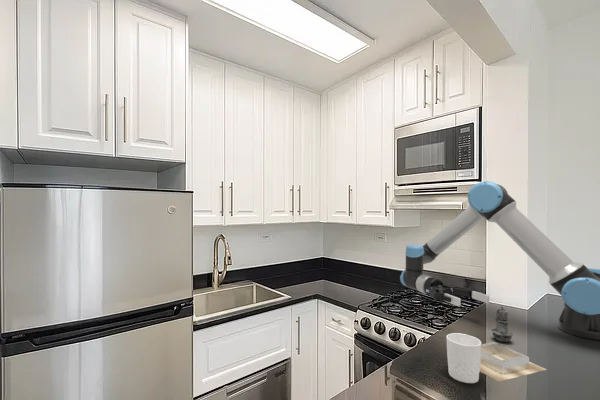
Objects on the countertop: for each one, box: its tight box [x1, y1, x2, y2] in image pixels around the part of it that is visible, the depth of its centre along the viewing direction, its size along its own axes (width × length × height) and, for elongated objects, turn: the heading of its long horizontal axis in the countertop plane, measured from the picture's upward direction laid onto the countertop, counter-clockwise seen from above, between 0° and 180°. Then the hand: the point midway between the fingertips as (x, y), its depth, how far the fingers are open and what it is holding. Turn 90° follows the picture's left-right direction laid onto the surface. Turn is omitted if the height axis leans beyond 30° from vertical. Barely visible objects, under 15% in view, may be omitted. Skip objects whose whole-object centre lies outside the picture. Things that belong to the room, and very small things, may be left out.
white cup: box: [446, 332, 482, 384], centre depth 80 cm, size 8×8×10 cm
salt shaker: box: [491, 306, 514, 343], centre depth 102 cm, size 6×6×12 cm
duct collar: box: [480, 341, 530, 375], centre depth 87 cm, size 10×10×3 cm
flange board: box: [479, 354, 547, 383], centre depth 87 cm, size 18×14×1 cm
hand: (474, 301), depth 111 cm, fingers open, 13 cm apart
